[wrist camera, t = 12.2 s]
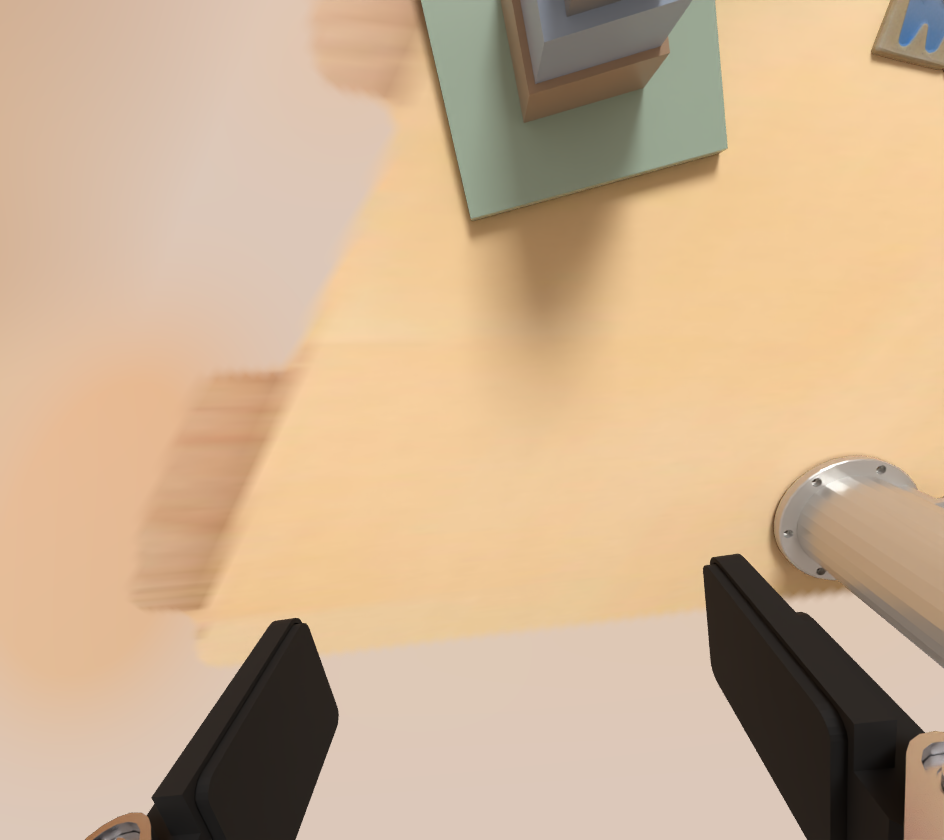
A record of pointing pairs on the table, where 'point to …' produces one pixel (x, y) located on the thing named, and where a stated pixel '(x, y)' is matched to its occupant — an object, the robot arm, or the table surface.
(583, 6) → the dice cube
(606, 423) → the table surface
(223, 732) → the robot arm
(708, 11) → the stepped block pyramid
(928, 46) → the alphabet tiles
